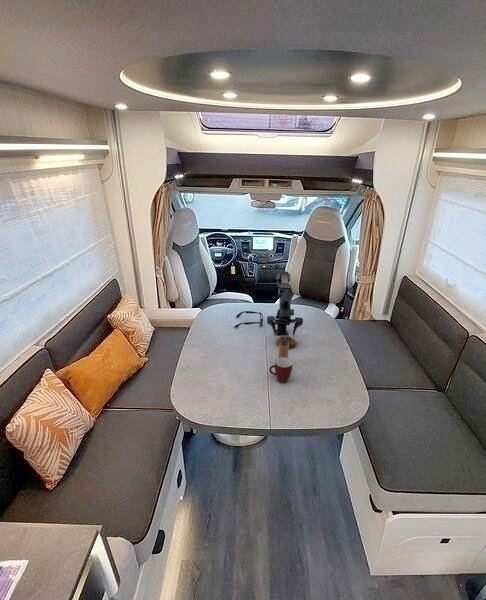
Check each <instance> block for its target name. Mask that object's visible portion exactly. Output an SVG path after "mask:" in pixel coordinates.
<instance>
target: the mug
mask: <svg viewBox="0 0 486 600" xmlns="http://www.w3.org/2000/svg"><path fill="white" fill-rule="evenodd" d="M272 369H274V370H275V371H274V372H273V371H272ZM268 371H269V373H270V374H271V375H273V376H275V377H276V379H277V380H278V382H279V383H286V382H287V381H288V380H289V379H290V377H291V374H292V371H293V361H292V360H291V358H289V357H288V358H276V359H275V361H274V364H272V365H270V366H269V368H268Z"/></svg>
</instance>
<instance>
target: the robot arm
mask: <svg viewBox="0 0 486 600" xmlns="http://www.w3.org/2000/svg"><path fill="white" fill-rule="evenodd" d="M275 280H276V283H277V284H276V285H277V287H278V293H277V295H278V297H279V309H277V312H276V314H275V315H267V316H266V324H267V325H269V326H271V328H272V332H273V335H274V337H276V336H288V335H289V332H288V331H287V328H288V326H290V325H291V324H293V329H292V330H293V331H292V338H294V336H295V334H296V331H297V329H298V328H300V327H301V326H303V324H304V318H303V317H299V316H298V317H294V318H292V316H294V315H295V309H294V308H291V305H292V301H293V297H295V291H294V289H293V288H292V284H290V282H291V274H290V273H289V271H280V272H278V273H276V279H275Z"/></svg>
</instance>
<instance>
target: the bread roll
mask: <svg viewBox="0 0 486 600" xmlns="http://www.w3.org/2000/svg"><path fill="white" fill-rule="evenodd" d="M283 340H284V341H287V342H288V343H289V349H291V348H294V347H295V346H296V345H297V340H296V339H295V338H294V337H293V336H288V335H283V336H281V337H279V338H278V339H277V341H276V344H277V346H279V343H280V342H281V341H283Z"/></svg>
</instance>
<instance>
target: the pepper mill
mask: <svg viewBox="0 0 486 600" xmlns="http://www.w3.org/2000/svg"><path fill="white" fill-rule="evenodd" d="M289 350H290V348H289V343H288V342H287V341H284V340H283V341H281V342H280V343H279V345H278V356H277V357H278V358H288V359H289ZM278 358H277V359H278Z"/></svg>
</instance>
